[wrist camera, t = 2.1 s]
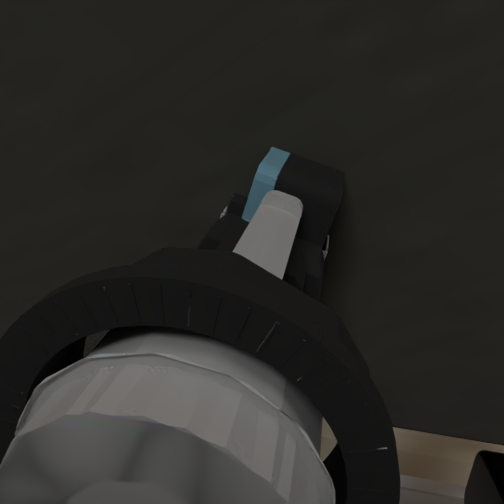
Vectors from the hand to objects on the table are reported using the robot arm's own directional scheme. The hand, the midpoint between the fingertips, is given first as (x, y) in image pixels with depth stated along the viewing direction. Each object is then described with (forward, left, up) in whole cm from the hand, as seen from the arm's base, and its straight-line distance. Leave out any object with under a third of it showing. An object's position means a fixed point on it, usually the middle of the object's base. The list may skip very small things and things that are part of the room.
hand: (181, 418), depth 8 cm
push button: (0, 0, -8) cm, 8 cm away
